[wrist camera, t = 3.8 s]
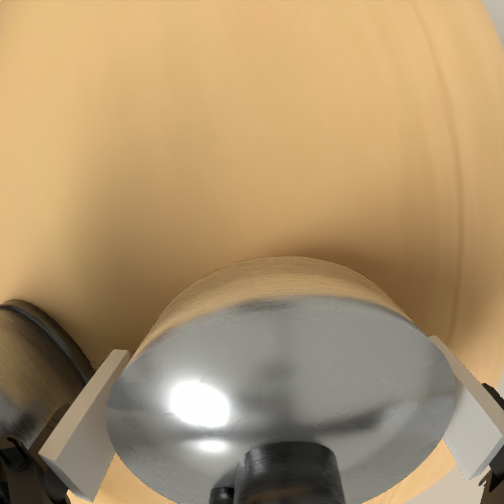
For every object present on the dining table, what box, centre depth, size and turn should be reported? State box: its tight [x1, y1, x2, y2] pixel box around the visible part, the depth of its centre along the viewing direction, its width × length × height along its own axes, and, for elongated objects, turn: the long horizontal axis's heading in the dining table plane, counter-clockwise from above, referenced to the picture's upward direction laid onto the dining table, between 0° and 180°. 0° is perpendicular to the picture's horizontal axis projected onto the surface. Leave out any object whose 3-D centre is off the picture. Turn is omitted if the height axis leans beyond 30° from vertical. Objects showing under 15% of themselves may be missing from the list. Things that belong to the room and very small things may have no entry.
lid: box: [105, 256, 456, 504], centre depth 7 cm, size 11×11×7 cm
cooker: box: [0, 300, 95, 450], centre depth 9 cm, size 18×10×10 cm, turn 3°
